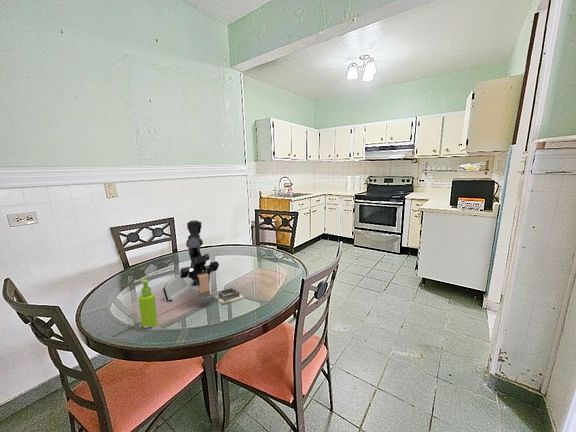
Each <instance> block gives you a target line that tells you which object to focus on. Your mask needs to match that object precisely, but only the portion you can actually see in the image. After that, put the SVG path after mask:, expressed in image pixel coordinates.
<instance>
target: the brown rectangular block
mask: <svg viewBox="0 0 576 432" xmlns="http://www.w3.org/2000/svg"><path fill="white" fill-rule="evenodd" d="M197 277H198V280H199V283H200V286H199V285H197V291H198V297H199V298H200V299H204V298H208V297H211V289H210V282H209V275H208V274H207V273H202V274H198V275H197Z"/></svg>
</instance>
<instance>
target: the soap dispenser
mask: <svg viewBox="0 0 576 432" xmlns="http://www.w3.org/2000/svg"><path fill="white" fill-rule="evenodd" d="M138 282H140V283H142V285H143V286H142V288H141V295H139V297H138V301H139V302H138V305H139V312H140V322H141V323H140V325H141V327H142V326H153V327H155V326H157V324H158V318H157V309H156V297H155V293H152V291H151V289H152V288H151V286H149V283H150V280H148V279H145V278H144V279H141V280H138ZM154 325H155V326H154Z"/></svg>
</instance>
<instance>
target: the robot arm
mask: <svg viewBox="0 0 576 432" xmlns="http://www.w3.org/2000/svg"><path fill="white" fill-rule="evenodd" d="M186 225H187V226H186V228H187V230H188V232H189V234H190V235H188V236H187V240H186V246H185V247H186V248H187V250H188V255H189V259H190V261H191V262H190V266H185V267H182V268H180V269H179V270H180V271H179V278H184V279H185V278H188V279H191V280H192V281H193V282H192V283H191V286H198V285H199V286H200V283H199V280H198V277H197V275H198V274H202V273H207V274H208V275H209V283H211V281H210V279H211V273H213V272H216V271H218V269H219V267H220V264H219V262H218V261H211V262H209V265H207V263H206V262H207V261H209V260H211V258H210V257H211V256H210V254H209V253H205V254H203V255H202V253H201V246H202V245H204V241H203V239H202V238H201V229H202V222H201V221H199V220H197V219H195V220H190V221H188V222H186Z"/></svg>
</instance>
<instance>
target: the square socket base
mask: <svg viewBox="0 0 576 432" xmlns="http://www.w3.org/2000/svg"><path fill="white" fill-rule="evenodd" d="M217 293H218V294H216V295H214V296H213V298H214V299H215V300H216V301H217V302H218V303H219V304H220V305H221V306H225V305H228V304H231V303H234V302H235V303H236V302H238V301H241V300H244V299H245V296H244V295H242V294H241V293H240V291H238V290H237V289H235V288H234V287H229V288H226V289H222V290H220V291H217Z"/></svg>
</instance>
